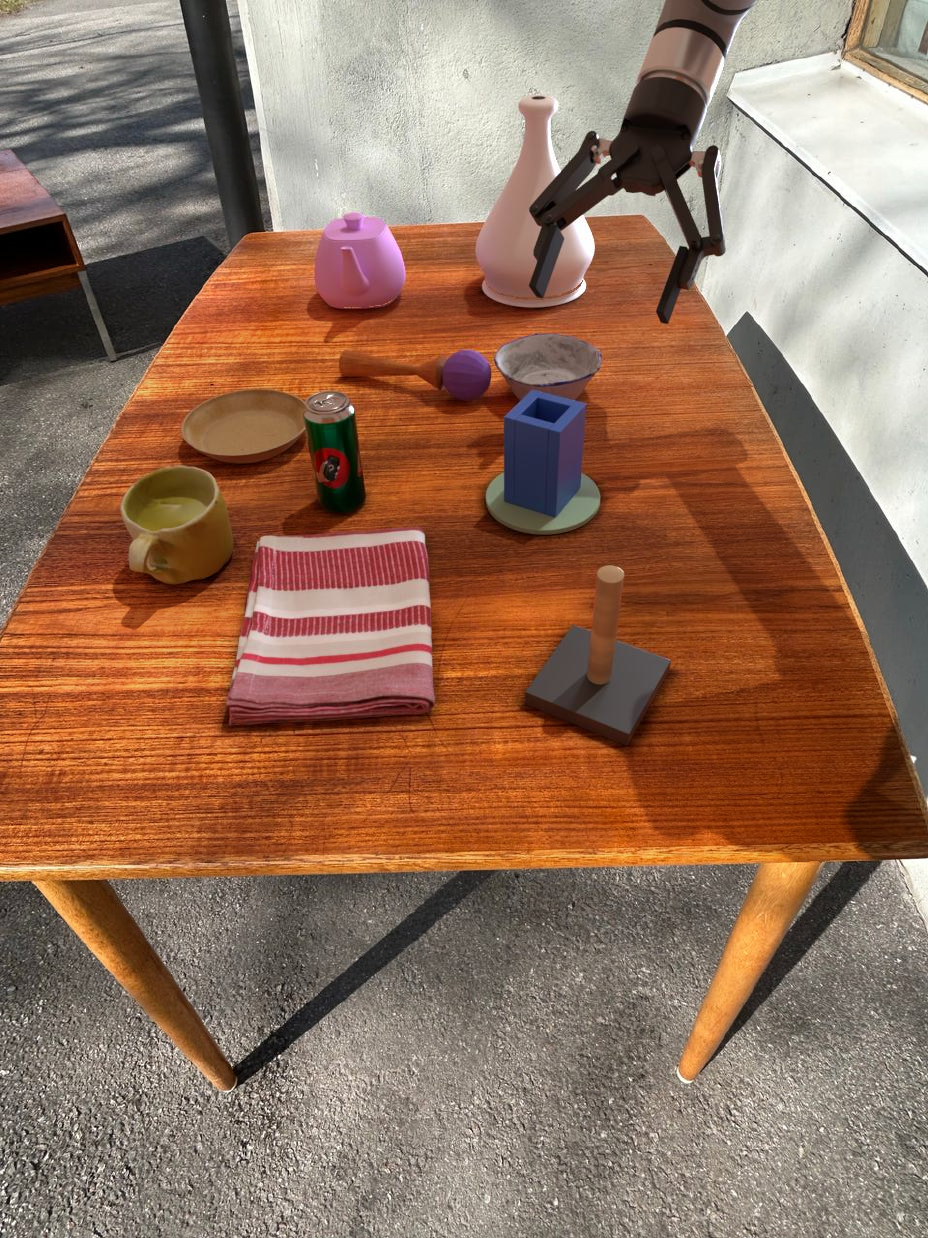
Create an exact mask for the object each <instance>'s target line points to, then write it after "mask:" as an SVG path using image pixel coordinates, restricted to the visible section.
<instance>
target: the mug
mask: <svg viewBox="0 0 928 1238" xmlns="http://www.w3.org/2000/svg"><path fill="white" fill-rule="evenodd" d="M119 508H120V514H121V519H122V521H123V524H124V526H125V528H126V530H127V533H128V534H129V535H130V537H131V539H132V542H131V543H130V545H129V547H128V566H129V570H130V571H133V572H137V573H144V574H148V575H150V576H152V578H154V579H156V580H157V581H160V582H162V583H164V584H168V585H181V584H185V583H187V582H190V581H196V580H197V581H198V580H204V579H206V578H208V577H211V576H213V575H215V574H216V573H218V572H220V571H221V569H222V568H223V567H224V565H225V564H227V563H228V562H229V561H230V559H231V556H232V554H233V552H234V546H235V544H234V543H235V542H234V536H233V529H232V525H231V521H230V516H229V510H228V507H227V504H226V501H225V498H224V497H223V494H222V490H221V489H220V486H219V485H218V483H217V481H216V479H215V477H214V476H213V475H212V474H211V473H210V472H209V471H206V470H204V469H202V468H199V467H197V466H186V465H185V464H183V465H182V464H181V465H175V466H165V467H162V468H158V469H156V470H153V471H152V472H149V473H147V474H145V475H143V476H142V477H140V478H139V479H138V480H136V481H135V482H134V483H133V484H132V485H130V486H129V488H128V489H127V491H126V492H125V493H124V495H123V497H122V499H121V503H120V507H119Z"/></svg>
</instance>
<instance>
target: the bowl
mask: <svg viewBox="0 0 928 1238" xmlns="http://www.w3.org/2000/svg"><path fill="white" fill-rule="evenodd" d="M602 356H603V355H602V354H601V350H600V348H599V349H598V348H596V347H595V346H594V345H593V344H591V343H588V342H587V341H585V340H582V339H580V338H577V337H574V336H572V335H567V334H559V333H534V334H530V335H525V336H522V337H518V338H516V339H513V340H511V341H509V342H507V343H504V344H503V345H501V347H499V348H498V349H497V351H496V352H495V354H494V357H493V361H494V365H495V367H496V368H497V370H498V371H499V373H500V374H501V375H502V377H503V379H504V380H505V382H506V383H507V385H508V386H509V388H510V389H511V391H512V393H513V394H514V396H515V397H516V398H517V399H518V400H519V402H520V401H521V400H522V399H523V398H524V397H525V396H526V395H527V394H528V393H529V392H530V391H531V390H536V391H540V392H543V393H547V394H551V395H555V396H559V397H563V398H567V399H571V400H575V401H576V399H578V398H580V396H581V395H582V393H583V391H584V390H585V389H586V387H587V385H588V384H589V383H590V381H591V380H592V379H593V378H594V377H595V375H596V374H597V373H598V372H599V371H600V370H601V366H602V363H603V362H602V360H603V359H602Z"/></svg>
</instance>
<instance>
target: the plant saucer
mask: <svg viewBox="0 0 928 1238" xmlns="http://www.w3.org/2000/svg"><path fill="white" fill-rule="evenodd" d="M304 409H305V401H304V399H302V398H300V397H299V396H297V395H296V394H293V393H290V392H287V391H283V390H279V389H272V388H246V389H239V390H233V391H229V392H225V393H221V394H219V395H216V396H213V397H211V398H209V399H207V400H205V401H202V402H201V403H199V404H198V405H196V406H195V407H193V408H192V410H191V411H189V412H188V413H187V414H186V416H185V417H184V419H183V421H182V423H181V426H180V431H181V435H182V436H181V437H182V438H183V439H184V441H185V442H186V443H187V444H188V445H189V446H190V447H192V448H193V449H195V450H196V451H198V452H199V453H201V454H203V455H204V456H207V457H209V458H211V459H214V460H217V461H219V462H223V463H229V464H239V465H240V464H252V463H259V462H263V461H266V460H270V459H272V458H274V457H277V456H279V455H281V454H282V453H284V452H286V451H287V450H288V449H289V448H291V446H293V445H294V444H295V443H296V441H298V440H299V438H300V437H302V435H303V434H304V432H305V431H306V430H305V424H304V419H303V411H304Z"/></svg>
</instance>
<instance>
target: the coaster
mask: <svg viewBox="0 0 928 1238" xmlns="http://www.w3.org/2000/svg"><path fill="white" fill-rule="evenodd" d="M485 505H486V509H487V511H488V512H489V515H491V517H493V518H494V519H495V520H496V521H497V522H498V523H500V524H501V525H503V526H504V527H506V528H509V529H511V530H514V531H517V532H521V533H525V534H530V535H539V536H541V535H548V536H549V535H557V534H564V533H567V532H572V531H574V530H576V529H578V528H581V527H583V526H585V525H586V524H588V523H589V522H591V520H592V519H593V518H594V517H595V516H596V514H597V513H598V511H599V508H600V505H601V493H600V490H599V487H598V486H597V485H596V483H595V482H594V481H593V480H592V479H591V478H590V477H589V476H587V475H586V474H584V472H582V473H581V487H580V489H579V490H578V491H577V492H576V494H575V495H574V496H573V497H572V498H571V500H570V501H569V502H568V503H567V504H566V506H565V507H564V508H563V509H562V511H561V512H560V513H559V514H558V515H557V517H556V518H555V517H552V516H549V515H546V514H542V513H539V512H536V511H533V510H530V509H526V508H523V507H520V506H517V505H513V504H510V503H507V502H504V471H503V472H501V473H500V474H498V475H497V476H495V477H494V479H492V481H491V482H490V483H489V484H488V486H487V488H486V491H485Z"/></svg>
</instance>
